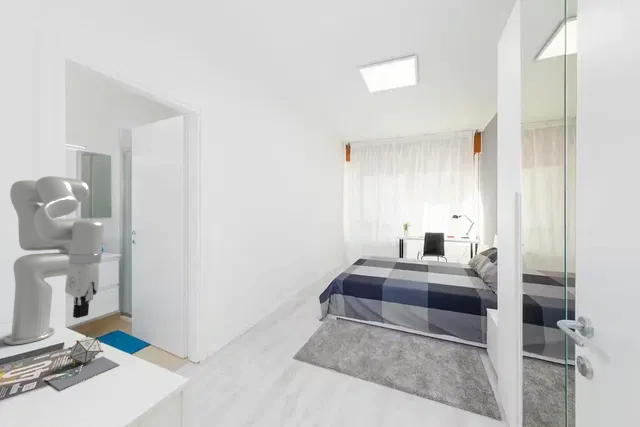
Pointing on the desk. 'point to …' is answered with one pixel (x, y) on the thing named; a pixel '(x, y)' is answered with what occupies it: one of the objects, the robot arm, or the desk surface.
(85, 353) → the game die
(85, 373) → the charcoal mat
